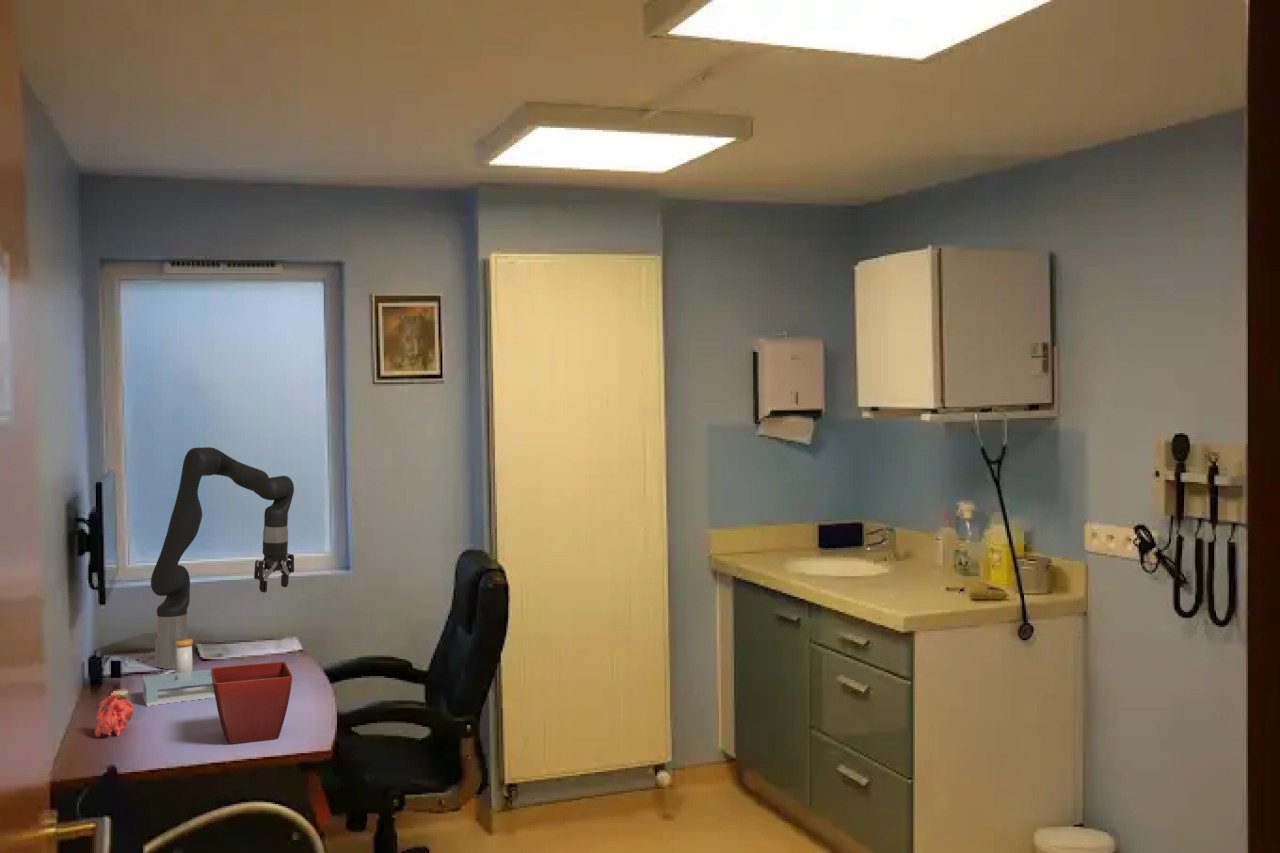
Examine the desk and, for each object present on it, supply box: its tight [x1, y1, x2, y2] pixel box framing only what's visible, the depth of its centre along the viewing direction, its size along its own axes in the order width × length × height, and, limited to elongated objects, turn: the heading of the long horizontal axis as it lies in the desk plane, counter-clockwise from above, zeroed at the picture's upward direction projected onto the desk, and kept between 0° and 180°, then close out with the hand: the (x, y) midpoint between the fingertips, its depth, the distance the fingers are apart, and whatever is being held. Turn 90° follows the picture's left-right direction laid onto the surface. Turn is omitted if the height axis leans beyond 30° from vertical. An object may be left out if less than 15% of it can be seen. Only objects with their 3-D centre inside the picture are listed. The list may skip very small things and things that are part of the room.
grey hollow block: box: [142, 668, 215, 707], centre depth 342 cm, size 22×12×6 cm, turn 118°
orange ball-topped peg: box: [175, 638, 194, 688], centre depth 355 cm, size 5×5×14 cm
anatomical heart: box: [94, 693, 134, 738], centre depth 305 cm, size 9×12×12 cm
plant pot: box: [210, 661, 293, 744], centre depth 302 cm, size 19×19×17 cm
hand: (273, 589), depth 365 cm, fingers open, 8 cm apart
